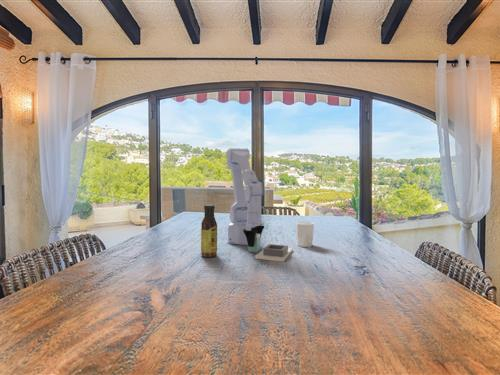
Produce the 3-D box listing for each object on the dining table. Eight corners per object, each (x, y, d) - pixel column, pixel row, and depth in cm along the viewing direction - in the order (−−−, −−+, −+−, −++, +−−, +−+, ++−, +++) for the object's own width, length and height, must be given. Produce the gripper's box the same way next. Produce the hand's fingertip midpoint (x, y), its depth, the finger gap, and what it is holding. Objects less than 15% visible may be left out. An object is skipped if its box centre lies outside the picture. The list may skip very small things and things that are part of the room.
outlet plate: (255, 258, 116) (255, 249, 116) (267, 248, 131) (267, 240, 131) (283, 261, 112) (283, 252, 112) (292, 250, 127) (292, 242, 127)
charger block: (247, 251, 126) (247, 234, 125) (251, 249, 129) (251, 232, 129) (256, 252, 124) (257, 235, 124) (260, 250, 128) (260, 233, 128)
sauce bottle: (214, 258, 116) (214, 206, 114) (198, 257, 117) (198, 205, 116) (219, 253, 122) (219, 204, 121) (204, 252, 123) (204, 203, 122)
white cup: (312, 243, 140) (313, 221, 139) (314, 247, 132) (314, 225, 132) (295, 242, 141) (295, 221, 140) (296, 247, 133) (296, 224, 132)
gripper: (257, 215, 118) (257, 249, 118) (268, 210, 131) (268, 241, 132) (240, 214, 120) (240, 248, 121) (253, 209, 134) (252, 240, 135)
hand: (254, 244), depth 127 cm, fingers open, 7 cm apart
